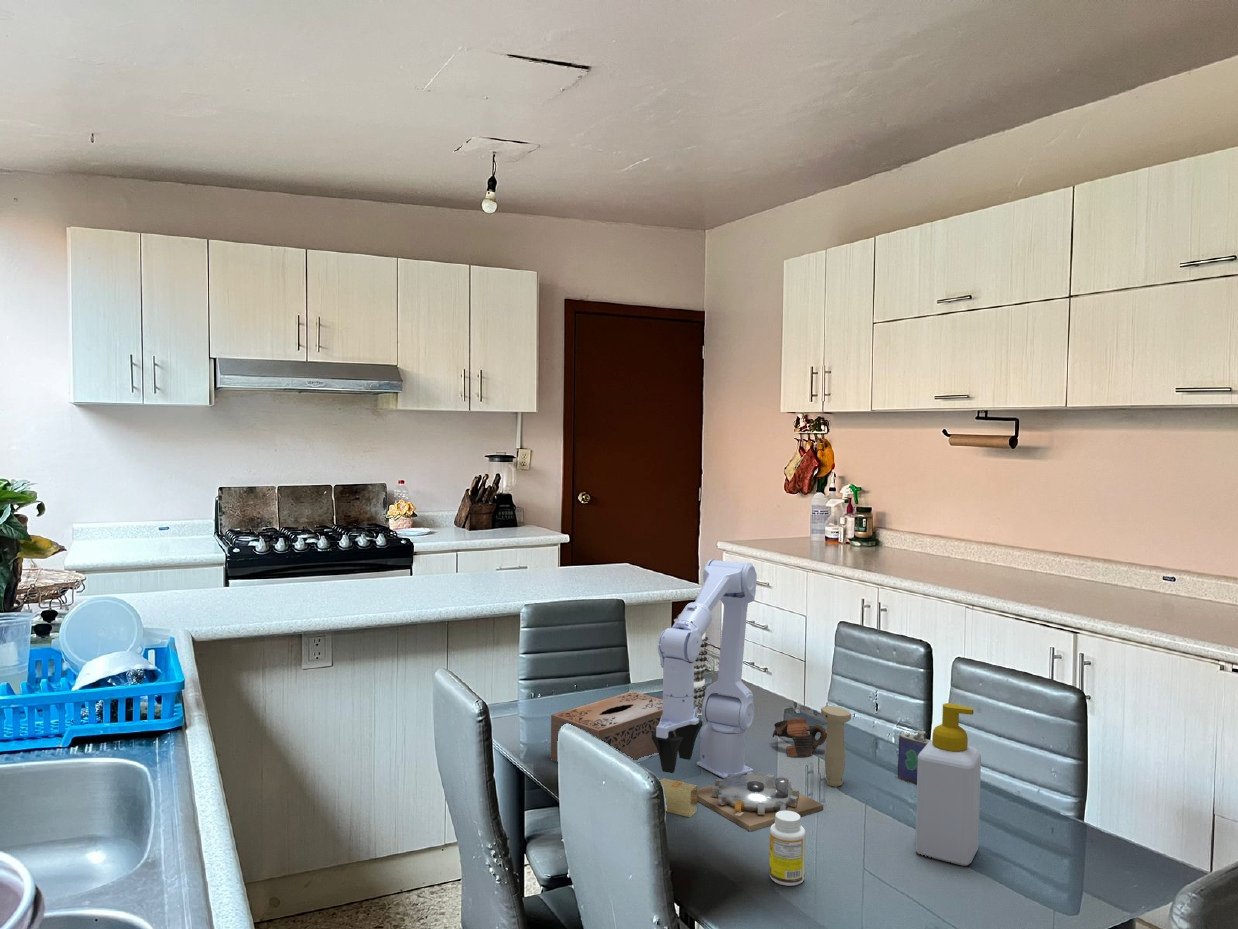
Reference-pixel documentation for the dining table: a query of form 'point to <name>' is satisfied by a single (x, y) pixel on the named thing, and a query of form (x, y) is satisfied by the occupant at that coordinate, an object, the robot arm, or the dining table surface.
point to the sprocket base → (752, 818)
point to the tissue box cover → (615, 723)
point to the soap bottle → (948, 792)
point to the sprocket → (755, 793)
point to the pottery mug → (800, 736)
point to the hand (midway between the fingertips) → (676, 765)
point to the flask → (910, 755)
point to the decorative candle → (699, 675)
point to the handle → (835, 743)
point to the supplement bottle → (787, 849)
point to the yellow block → (680, 797)
